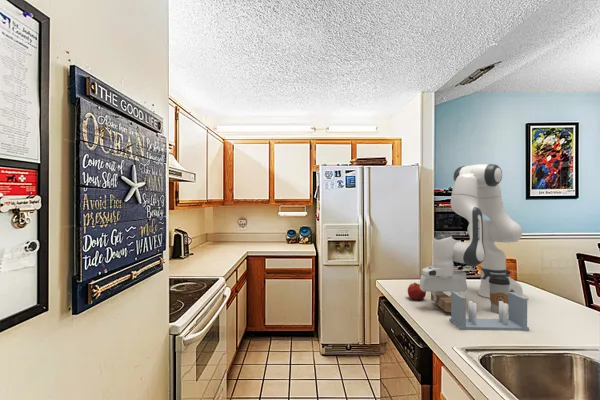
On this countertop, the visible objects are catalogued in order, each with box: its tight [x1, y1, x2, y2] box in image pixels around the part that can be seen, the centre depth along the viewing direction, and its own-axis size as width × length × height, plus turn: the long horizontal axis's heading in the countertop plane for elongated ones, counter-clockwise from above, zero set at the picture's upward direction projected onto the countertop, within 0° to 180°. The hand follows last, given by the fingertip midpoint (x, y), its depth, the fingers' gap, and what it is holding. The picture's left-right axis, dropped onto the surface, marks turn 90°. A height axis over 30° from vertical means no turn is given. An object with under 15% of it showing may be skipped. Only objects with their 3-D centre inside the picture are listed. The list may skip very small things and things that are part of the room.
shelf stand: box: [448, 291, 530, 332], centre depth 138 cm, size 26×10×12 cm, turn 88°
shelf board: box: [430, 292, 451, 313], centre depth 159 cm, size 18×5×4 cm, turn 178°
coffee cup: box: [489, 276, 510, 314], centre depth 156 cm, size 8×8×15 cm
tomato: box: [407, 282, 427, 301], centre depth 175 cm, size 9×9×8 cm
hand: (443, 301), depth 159 cm, fingers closed on shelf board, 5 cm apart
